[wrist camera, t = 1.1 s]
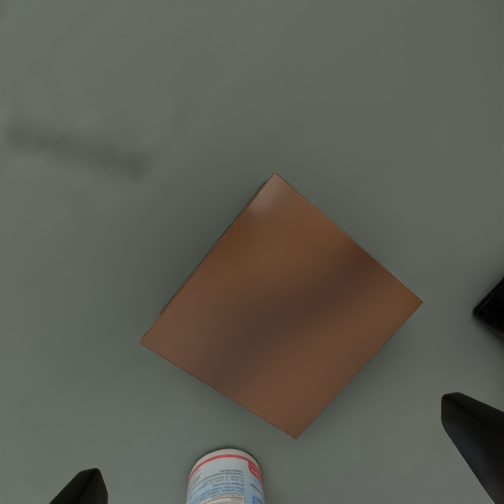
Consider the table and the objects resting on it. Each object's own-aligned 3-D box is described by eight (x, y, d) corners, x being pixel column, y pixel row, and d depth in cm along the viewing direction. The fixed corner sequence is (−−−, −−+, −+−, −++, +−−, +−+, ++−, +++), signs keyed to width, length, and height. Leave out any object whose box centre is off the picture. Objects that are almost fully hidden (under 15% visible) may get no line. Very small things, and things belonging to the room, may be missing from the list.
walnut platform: (388, 281, 22) (423, 302, 18) (283, 397, 23) (296, 439, 20) (264, 174, 19) (275, 171, 15) (154, 313, 21) (139, 342, 17)
